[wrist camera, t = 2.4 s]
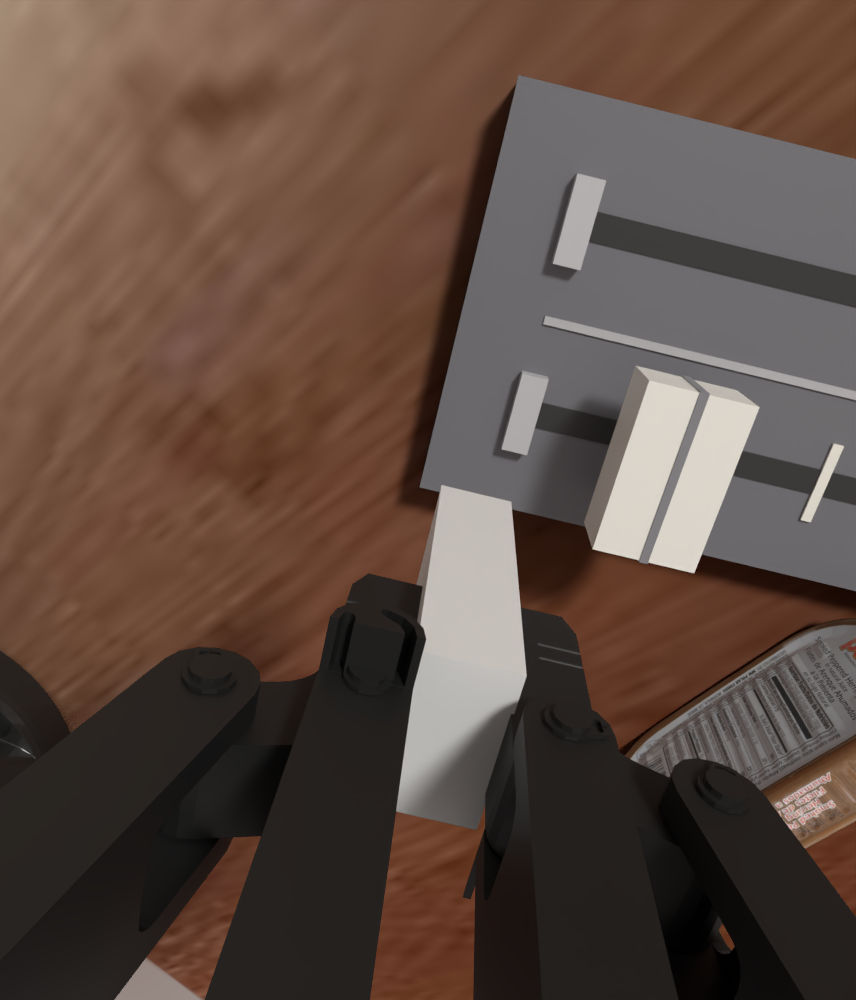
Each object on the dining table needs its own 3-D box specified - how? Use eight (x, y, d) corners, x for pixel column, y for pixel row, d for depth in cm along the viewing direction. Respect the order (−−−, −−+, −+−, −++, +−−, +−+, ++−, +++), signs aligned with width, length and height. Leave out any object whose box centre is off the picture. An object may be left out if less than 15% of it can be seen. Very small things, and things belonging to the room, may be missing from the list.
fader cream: (577, 504, 31) (592, 551, 27) (626, 353, 29) (650, 379, 25) (666, 525, 31) (693, 575, 27) (721, 376, 29) (760, 406, 25)
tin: (620, 799, 39) (655, 951, 31) (580, 759, 38) (605, 904, 30) (895, 624, 35) (1016, 748, 27) (855, 575, 34) (966, 687, 26)
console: (423, 471, 34) (418, 492, 31) (516, 83, 28) (519, 72, 26) (1099, 632, 34) (1147, 665, 32) (1317, 283, 29) (1394, 291, 26)
